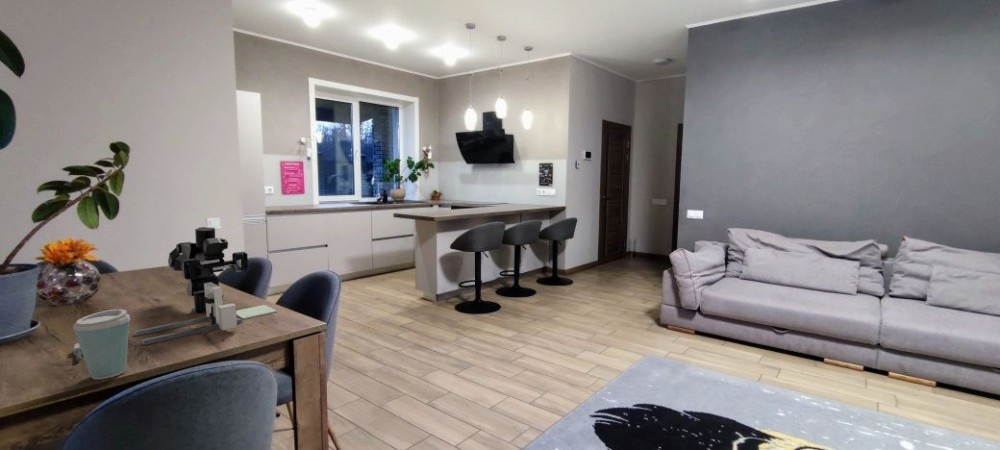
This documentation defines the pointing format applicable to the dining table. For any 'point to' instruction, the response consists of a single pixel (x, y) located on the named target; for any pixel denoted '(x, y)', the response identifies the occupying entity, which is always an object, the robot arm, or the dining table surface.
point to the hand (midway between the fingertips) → (225, 271)
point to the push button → (210, 300)
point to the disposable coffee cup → (104, 342)
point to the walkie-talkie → (77, 351)
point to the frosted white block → (221, 308)
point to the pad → (254, 312)
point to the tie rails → (177, 334)
